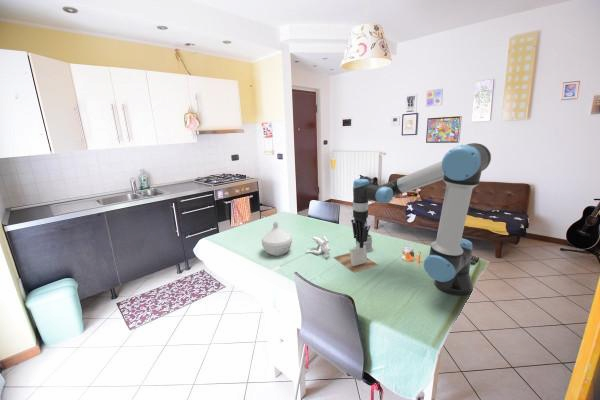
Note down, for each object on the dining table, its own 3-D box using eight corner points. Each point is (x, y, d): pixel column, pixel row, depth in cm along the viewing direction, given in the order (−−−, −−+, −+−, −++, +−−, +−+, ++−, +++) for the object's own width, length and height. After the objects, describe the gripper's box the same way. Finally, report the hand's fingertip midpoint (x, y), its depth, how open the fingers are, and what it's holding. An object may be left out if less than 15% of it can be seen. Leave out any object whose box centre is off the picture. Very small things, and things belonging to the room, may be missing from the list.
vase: (298, 250, 171) (297, 221, 166) (276, 262, 158) (274, 230, 153) (278, 243, 183) (276, 215, 178) (256, 253, 170) (253, 223, 165)
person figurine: (303, 235, 167) (327, 236, 154) (316, 233, 176) (340, 234, 164) (303, 257, 166) (328, 260, 154) (317, 254, 176) (341, 256, 164)
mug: (366, 255, 161) (366, 235, 158) (351, 248, 170) (351, 230, 167) (375, 251, 165) (375, 232, 162) (360, 245, 174) (360, 227, 171)
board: (378, 267, 147) (378, 265, 146) (353, 275, 140) (353, 272, 140) (356, 252, 164) (356, 251, 164) (332, 259, 158) (332, 257, 158)
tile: (367, 262, 150) (365, 245, 149) (353, 266, 146) (351, 249, 145) (365, 261, 151) (363, 245, 151) (351, 265, 148) (349, 248, 147)
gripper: (375, 211, 136) (373, 255, 142) (358, 205, 147) (358, 246, 154) (362, 214, 133) (361, 259, 139) (346, 207, 144) (346, 249, 151)
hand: (359, 252), depth 146 cm, fingers closed
